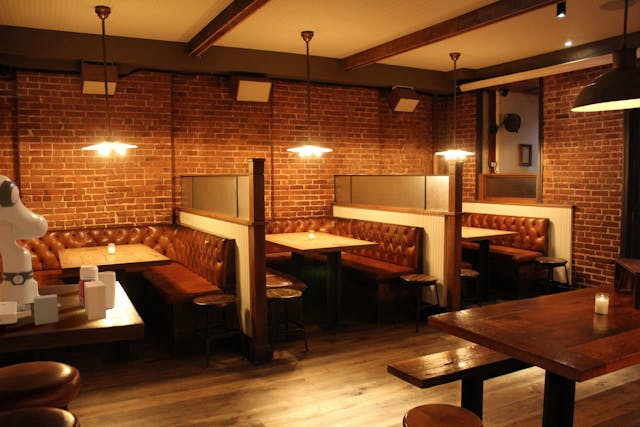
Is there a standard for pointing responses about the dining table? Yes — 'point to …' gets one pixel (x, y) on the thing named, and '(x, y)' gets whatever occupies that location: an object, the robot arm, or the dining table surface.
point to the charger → (46, 309)
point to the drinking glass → (108, 287)
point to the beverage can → (89, 271)
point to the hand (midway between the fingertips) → (30, 309)
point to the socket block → (95, 300)
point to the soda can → (81, 289)
